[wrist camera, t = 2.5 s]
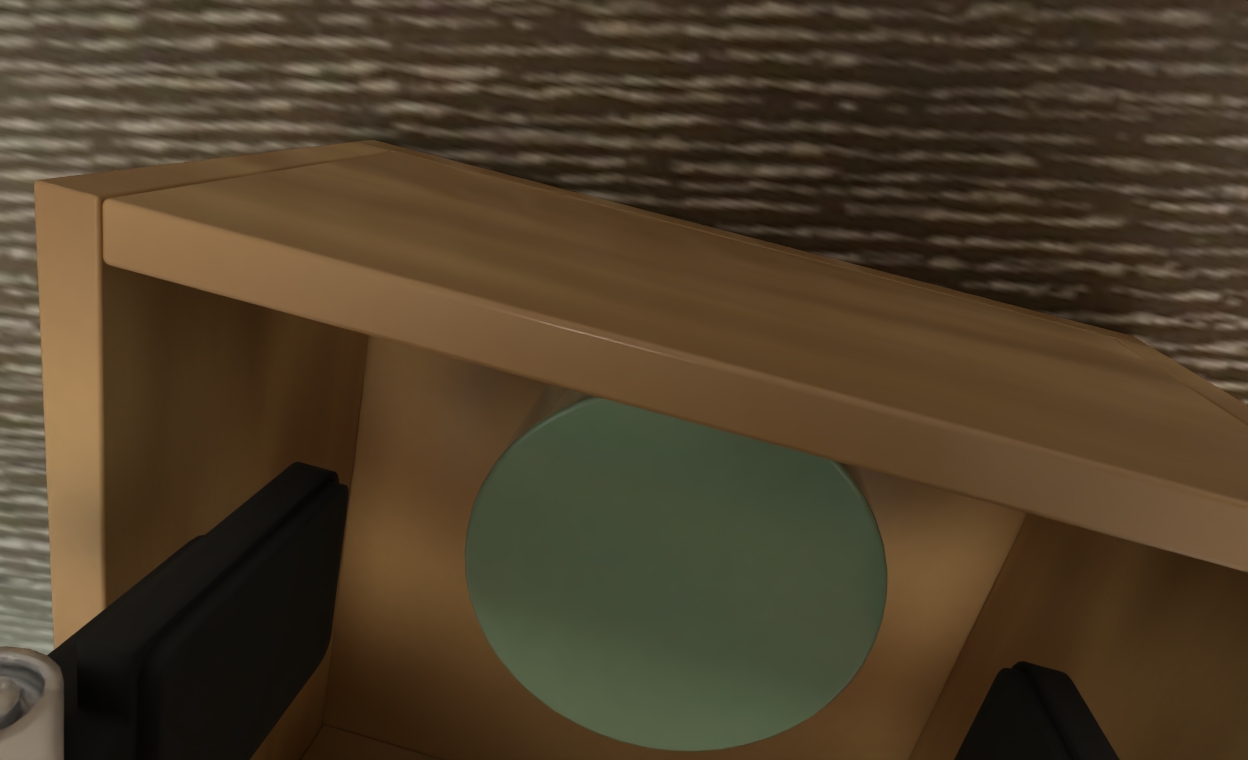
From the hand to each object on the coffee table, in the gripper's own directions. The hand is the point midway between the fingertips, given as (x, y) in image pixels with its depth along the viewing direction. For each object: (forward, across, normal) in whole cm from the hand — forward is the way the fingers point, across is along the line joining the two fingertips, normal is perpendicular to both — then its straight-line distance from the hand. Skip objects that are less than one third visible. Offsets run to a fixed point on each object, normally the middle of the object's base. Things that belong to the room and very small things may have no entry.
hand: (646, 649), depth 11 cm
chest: (+8, 0, +4) cm, 9 cm away
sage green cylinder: (+7, 0, 0) cm, 7 cm away
